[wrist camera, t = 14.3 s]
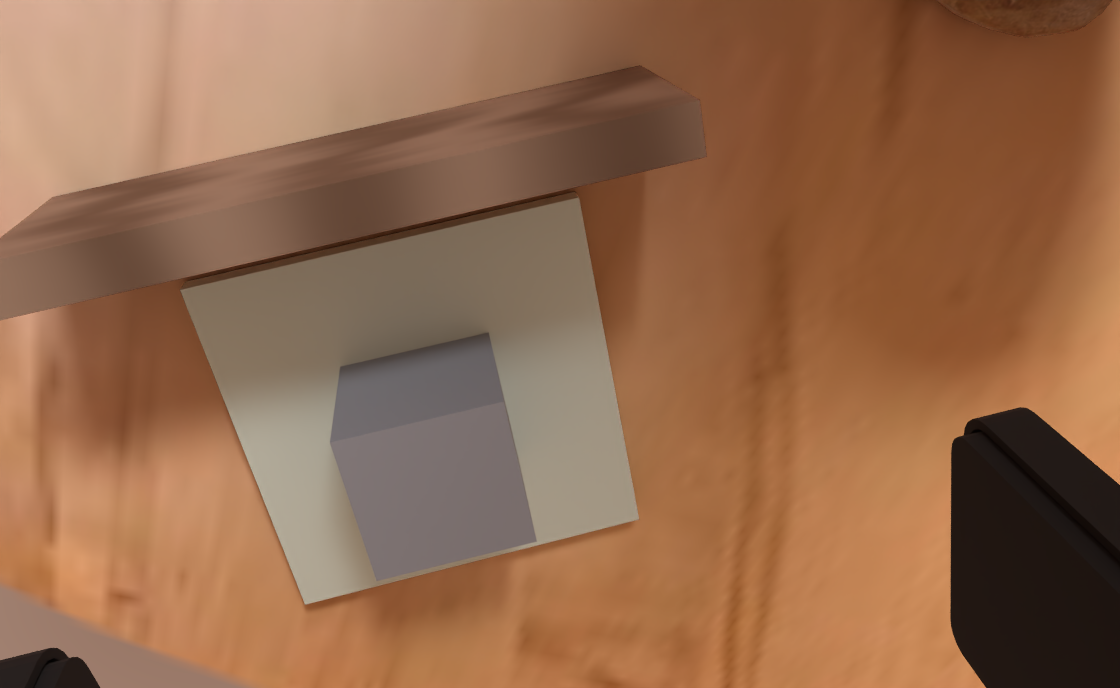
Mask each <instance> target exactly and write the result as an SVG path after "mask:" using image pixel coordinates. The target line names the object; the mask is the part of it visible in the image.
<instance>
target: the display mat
mask: <svg viewBox="0 0 1120 688" xmlns="http://www.w3.org/2000/svg"><path fill="white" fill-rule="evenodd" d="M180 291H181V294H182V297H183V299H184V302H185V304H186V307H187V309H188V312H189V314H190V317H191V319H192V322H193V324H194V327H195V329H196V332H197V334H198V337H199V339H200V342H201V344H202V347H203V349H204V352H205V354H206V357H207V359H208V362H209V364H210V367H211V369H212V372H213V374H214V377H215V379H216V382H217V384H218V387H219V389H220V392H221V394H222V397H223V399H224V402H225V405H226V407H227V410H228V412H229V415H230V417H231V420H232V422H233V425H234V427H235V430H236V432H237V435H238V437H239V440H240V442H241V445H242V447H243V450H244V452H245V455H246V457H247V460H248V462H249V465H250V467H251V470H252V472H253V475H254V477H255V480H256V482H257V485H258V487H259V490H260V492H261V495H262V497H263V500H264V502H265V505H266V507H267V510H268V513H269V515H270V518H271V520H272V523H273V525H274V528H275V530H276V533H277V535H278V538H279V540H280V543H281V545H282V548H283V550H284V553H285V555H286V558H287V560H288V563H289V565H290V568H291V570H292V573H293V575H294V578H295V580H296V583H297V585H298V588H299V590H300V593H301V595H302V598H303V600H304V603H305V605H306V604H310V603H314V602H318V601H322V600H325V599H329V598H333V597H337V596H341V595H345V594H349V593H353V592H357V591H361V590H365V589H369V588H372V587H376V586H380V585H384V584H388V583H392V582H396V581H400V580H404V579H408V578H412V577H416V576H420V575H423V574H427V573H431V572H435V571H439V570H443V569H447V568H451V567H455V566H459V565H463V564H467V563H471V562H474V561H478V560H482V559H486V558H490V557H494V556H498V555H502V554H506V553H510V552H514V551H518V550H521V549H525V548H529V547H533V546H537V545H541V544H545V543H549V542H553V541H557V540H561V539H565V538H569V537H572V536H576V535H580V534H584V533H588V532H592V531H596V530H600V529H604V528H608V527H612V526H616V525H619V524H623V523H627V522H631V521H635V520H639V516H638V510H637V505H636V500H635V494H634V489H633V484H632V478H631V473H630V467H629V462H628V457H627V451H626V446H625V441H624V435H623V430H622V425H621V419H620V414H619V409H618V403H617V398H616V393H615V387H614V382H613V377H612V371H611V366H610V360H609V355H608V350H607V344H606V339H605V334H604V328H603V323H602V318H601V312H600V307H599V302H598V296H597V291H596V286H595V280H594V275H593V270H592V264H591V259H590V254H589V248H588V243H587V237H586V232H585V227H584V221H583V216H582V211H581V205H580V200H579V197H578V195H577V194H576V192H571V193H567V194H562V195H558V196H554V197H550V198H545V199H541V200H537V201H532V202H528V203H524V204H519V205H515V206H511V207H506V208H502V209H498V210H493V211H489V212H485V213H480V214H476V215H472V216H468V217H463V218H459V219H455V220H450V221H446V222H442V223H437V224H433V225H429V226H424V227H420V228H416V229H411V230H407V231H403V232H398V233H394V234H390V235H386V236H381V237H377V238H373V239H368V240H364V241H360V242H355V243H351V244H347V245H342V246H338V247H334V248H329V249H325V250H321V251H316V252H312V253H308V254H304V255H299V256H295V257H291V258H286V259H282V260H278V261H273V262H269V263H265V264H260V265H256V266H252V267H247V268H243V269H239V270H234V271H230V272H226V273H222V274H217V275H213V276H209V277H204V278H200V279H196V280H191V281H187V282H185V283H184V284H183V286H182V288H181V289H180ZM488 332H489V336H490V340H491V345H492V349H493V353H494V357H495V361H496V366H497V370H498V374H499V378H500V383H501V387H502V391H503V395H504V400H505V404H506V408H507V412H508V416H509V421H510V425H511V429H512V433H513V438H514V442H515V446H516V450H517V454H518V459H519V463H520V468H521V472H522V477H523V481H524V486H525V490H526V495H527V499H528V504H529V508H530V513H531V517H532V522H533V526H534V531H535V535H536V540H537V542H533V543H529V544H525V545H521V546H517V547H513V548H509V549H505V550H501V551H497V552H493V553H489V554H484V555H480V556H476V557H472V558H468V559H464V560H460V561H456V562H452V563H448V564H444V565H440V566H436V567H432V568H428V569H424V570H420V571H416V572H412V573H408V574H404V575H400V576H395V577H391V578H387V579H383V580H379V581H376V578H375V575H374V572H373V569H372V566H371V563H370V560H369V557H368V554H367V551H366V548H365V545H364V543H363V540H362V537H361V534H360V531H359V528H358V525H357V522H356V519H355V516H354V513H353V510H352V507H351V504H350V501H349V498H348V495H347V492H346V489H345V486H344V483H343V480H342V477H341V474H340V472H339V469H338V466H337V463H336V460H335V457H334V454H333V451H332V448H331V445H330V437H331V430H332V423H333V415H334V408H335V401H336V393H337V386H338V379H339V371H340V367H341V366H345V365H350V364H354V363H358V362H363V361H367V360H371V359H376V358H380V357H384V356H389V355H393V354H397V353H402V352H406V351H410V350H415V349H419V348H423V347H427V346H432V345H436V344H440V343H445V342H449V341H453V340H458V339H462V338H466V337H471V336H475V335H479V334H484V333H488Z"/></svg>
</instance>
